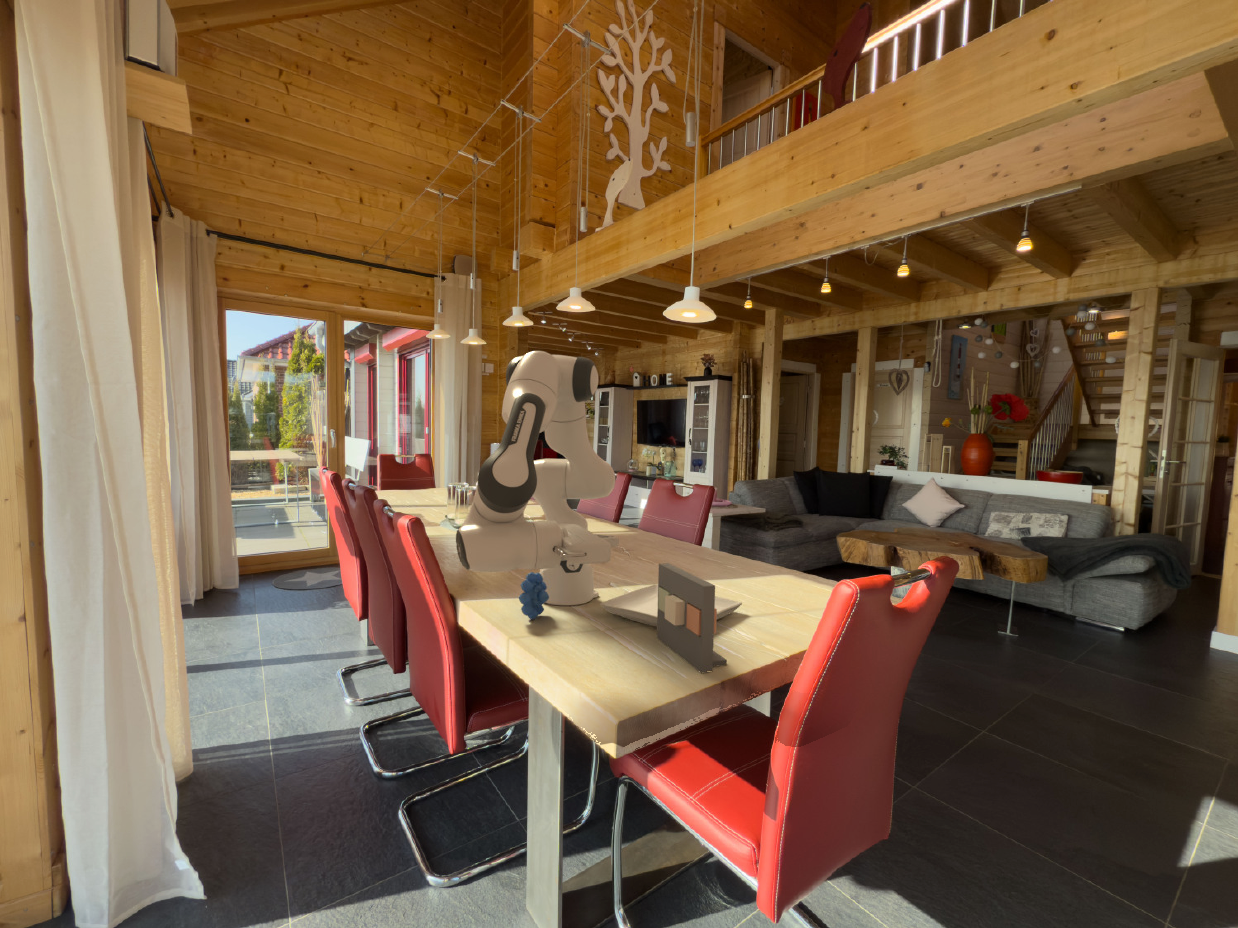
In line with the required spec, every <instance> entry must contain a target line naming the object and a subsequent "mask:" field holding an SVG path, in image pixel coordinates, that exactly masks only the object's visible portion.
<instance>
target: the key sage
mask: <svg viewBox="0 0 1238 928" xmlns="http://www.w3.org/2000/svg"><path fill="white" fill-rule="evenodd" d="M665 596H670V591H668V590H666V589H665V588H663V587H659V601H658V609H660V610H661V611H663V612H664V613H665Z"/></svg>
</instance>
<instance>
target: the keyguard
mask: <svg viewBox="0 0 1238 928" xmlns="http://www.w3.org/2000/svg"><path fill="white" fill-rule="evenodd" d="M657 580H658V582H657V584H658V601H659V587H663V588H665V589H666V590H668V591H670V596H671V595H677V596H678V597H680V598H682V599H683V600H685V621H684V625H676V626H675V625H673V624H672V623H671V622H669V621H668V620H666V619H665V613H664V612H663V611H661V610H660V609H658V612H657V627H656V638H657V640H659V641H660V642H661V643H662V644H664V645H665V646H666V647H668V648H669V649H670V650H671V651H673V652H674V653H675V654H677V655H678V656H679V657H680V658H682V660H684V661H685V662H686V663H687V664H689V665H690V666H692V667H693V668H694V667H695V668H696V669H695V668H694V669H695V670H697V671H698V672H699V671H700V672H701V673H700V672H699V673H700V674H703V673H702V672H706V673H708V672H707V671H712V672H713V667H720V666H726V665H725V664H727V665H728V663H727V661H728V660H727V658H725V657H723V656H722V655H721V654H719V653H718V652H716V651H715V650H714V636H715V634H714V608H715V596H716V585H715V584H714V583H711V582H709V581H707V580H705V579H702V578H700V577H698V576H696V575H694V574H692V573H690V572H688V571H685V569H682V568H680V567H677V566H676V565H674V564H672V563H669V562H666V563H664V562H663V563H658V579H657ZM687 604H692V605H694V606H695V607H697V608H699V609H700V610H701V635H699V636H698V635H697V634H695V633H694V632H692V631H691V630H689V629H688V628H686V626H687Z"/></svg>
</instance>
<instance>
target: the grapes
mask: <svg viewBox="0 0 1238 928" xmlns="http://www.w3.org/2000/svg"><path fill="white" fill-rule="evenodd" d="M519 587H520V589H521V591H523V592H522V593H521V594H519V596H518V600H519V602H520V604H522V606H521V608H520V610H521V613H522V614H523V615H524V616H526V617H527V618H529V619H530V620H531V619H532V620H535V619H537V617H538V616H540V615H542V614H543V612H544V611H545V608H544V606H543V605H544V604H546V603H545V602H546V601H547V600H548V599H549V595H548V593H547V592H546V591H545V590H546V589H547V586H546V584H545V582H543V577H542V575H541V574H540V572H533V571H531V572H529V573H527V575H526V576H525V579H524V580H523V581H522V582H521V583H520V586H519Z"/></svg>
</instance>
